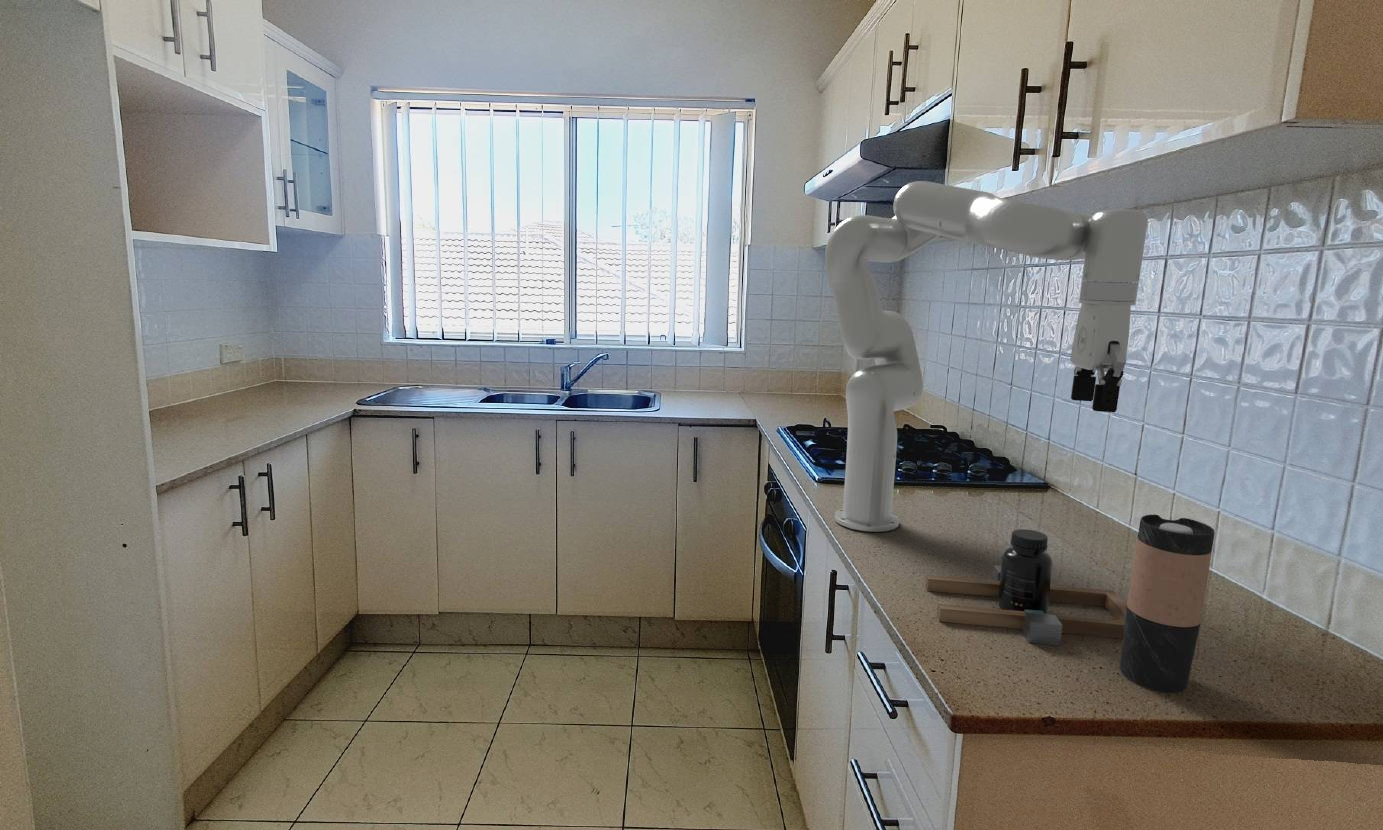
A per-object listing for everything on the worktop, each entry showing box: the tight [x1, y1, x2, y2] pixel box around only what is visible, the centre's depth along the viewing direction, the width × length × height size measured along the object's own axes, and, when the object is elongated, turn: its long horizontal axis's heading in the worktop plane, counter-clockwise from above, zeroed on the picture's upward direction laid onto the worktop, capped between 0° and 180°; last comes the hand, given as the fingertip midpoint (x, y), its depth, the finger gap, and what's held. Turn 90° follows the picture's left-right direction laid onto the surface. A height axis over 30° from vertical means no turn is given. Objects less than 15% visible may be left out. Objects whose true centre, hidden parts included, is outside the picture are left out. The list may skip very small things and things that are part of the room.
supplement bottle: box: [997, 528, 1054, 614], centre depth 106 cm, size 7×7×12 cm
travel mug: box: [1119, 513, 1216, 694], centre depth 88 cm, size 8×8×20 cm
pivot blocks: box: [991, 564, 1063, 647], centre depth 107 cm, size 20×4×3 cm, turn 171°
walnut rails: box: [925, 574, 1127, 639], centre depth 107 cm, size 12×28×2 cm, turn 81°
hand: (1092, 405), depth 112 cm, fingers open, 9 cm apart
